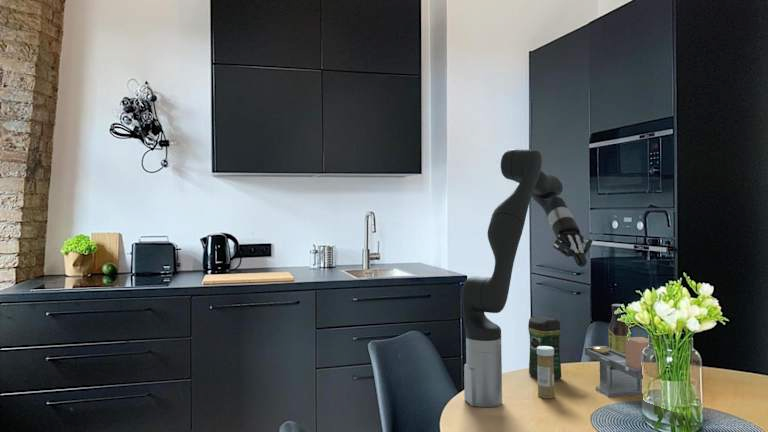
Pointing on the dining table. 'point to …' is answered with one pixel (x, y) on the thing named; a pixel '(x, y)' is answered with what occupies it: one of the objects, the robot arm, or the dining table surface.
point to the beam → (615, 361)
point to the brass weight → (601, 350)
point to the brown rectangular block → (635, 351)
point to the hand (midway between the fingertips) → (583, 265)
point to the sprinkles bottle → (545, 372)
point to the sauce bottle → (617, 332)
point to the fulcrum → (617, 381)
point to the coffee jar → (544, 342)
